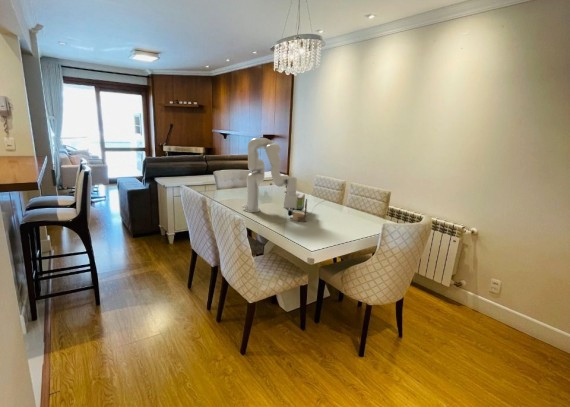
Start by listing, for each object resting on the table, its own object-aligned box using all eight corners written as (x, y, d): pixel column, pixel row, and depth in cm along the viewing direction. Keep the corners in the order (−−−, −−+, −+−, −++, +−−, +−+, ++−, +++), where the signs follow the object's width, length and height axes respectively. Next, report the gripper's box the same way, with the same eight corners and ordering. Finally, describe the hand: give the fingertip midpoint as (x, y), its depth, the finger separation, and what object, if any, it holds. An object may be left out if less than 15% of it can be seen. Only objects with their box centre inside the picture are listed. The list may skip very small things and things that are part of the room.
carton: (292, 220, 236) (292, 214, 235) (292, 216, 248) (293, 209, 247) (304, 221, 236) (304, 214, 235) (303, 216, 248) (304, 210, 246)
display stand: (297, 221, 232) (298, 203, 229) (298, 214, 250) (299, 198, 247) (305, 222, 232) (306, 204, 229) (306, 215, 250) (307, 198, 247)
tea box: (301, 215, 250) (302, 197, 247) (289, 213, 252) (290, 196, 249) (304, 210, 265) (305, 193, 261) (292, 209, 267) (293, 192, 263)
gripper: (281, 193, 234) (279, 216, 238) (300, 194, 233) (299, 217, 237) (281, 191, 241) (280, 213, 246) (300, 192, 240) (299, 215, 245)
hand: (289, 215), depth 242 cm, fingers closed
